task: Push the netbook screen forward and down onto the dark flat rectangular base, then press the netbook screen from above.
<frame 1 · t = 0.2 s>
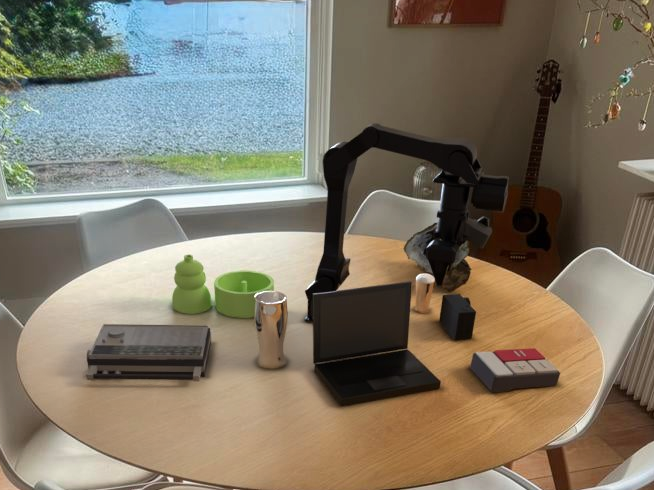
hand: (443, 278, 160), 15 cm above the table, tool pointing down, fingers open, 9 cm apart
radio: (150, 363, 156), on the table
dark flat rectangular base: (376, 380, 152), on the table
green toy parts: (223, 306, 181), on the table
hollow geode rock: (436, 280, 197), on the table
digital camera: (457, 330, 172), on the table
milkshake: (423, 310, 181), on the table
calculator: (512, 377, 154), on the table
netbook screen: (362, 322, 153), point 9 cm above the table, hinge at 95.0°
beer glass: (271, 363, 158), on the table
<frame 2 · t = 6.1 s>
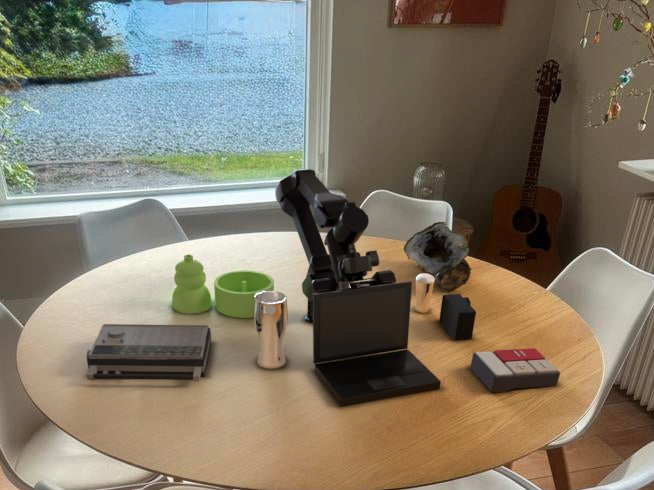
hand: (360, 323, 154), 9 cm above the table, tool tilted 45°, fingers closed, pressing on netbook screen
netbook screen: (362, 322, 153), point 9 cm above the table, hinge at 95.0°, touching gripper
everything else where it was.
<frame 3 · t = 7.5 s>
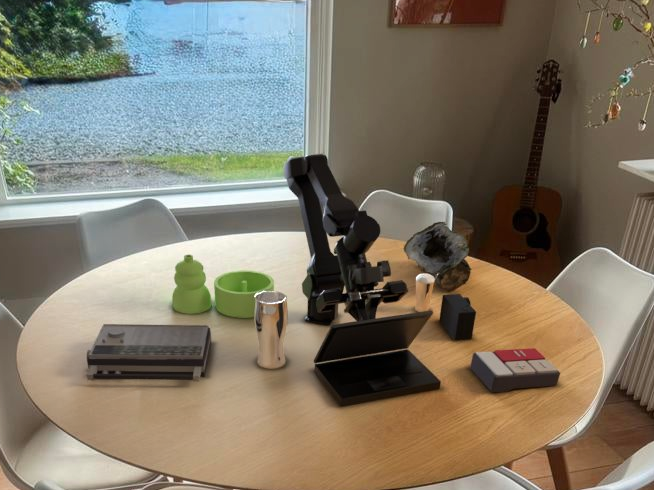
hand: (371, 335, 150), 9 cm above the table, tool tilted 45°, fingers closed, pressing on netbook screen
netbook screen: (372, 337, 150), point 8 cm above the table, hinge at 54.5°, touching gripper
everything else where it was.
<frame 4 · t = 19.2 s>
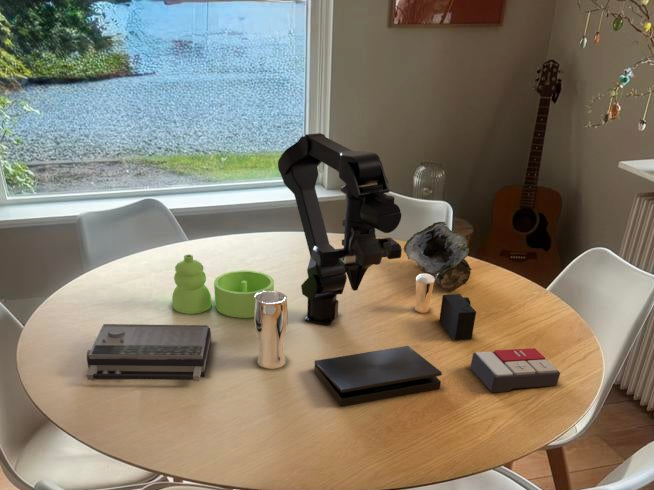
hand: (354, 289, 160), 12 cm above the table, tool pointing down, fingers closed
netbook screen: (376, 368, 150), point 3 cm above the table, hinge at 4.7°, touching dark flat rectangular base
everything else where it was.
at the end: netbook screen at +5° (first picture: +95°); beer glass moved 0.2 cm from its start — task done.
